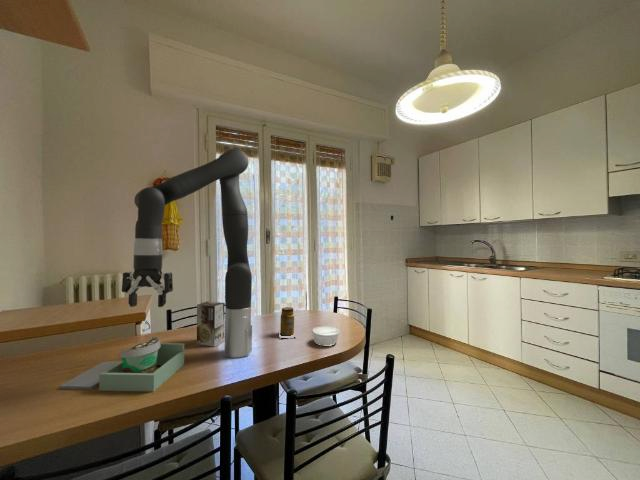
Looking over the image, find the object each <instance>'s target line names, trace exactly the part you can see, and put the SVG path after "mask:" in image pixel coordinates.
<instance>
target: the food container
mask: <svg viewBox="0 0 640 480" xmlns="http://www.w3.org/2000/svg"><path fill="white" fill-rule="evenodd" d="M140 343H141V344H139V343H137V344H136V345H134V346H133V347H131V348H129V349H121V351H120V354H119V358H121V361H122V366H123V373H154V372H155V371H156V370H157V365H156V364H157V355H158V349H159V348H160V347H161V344H160V343H161V341H160V339H159V338H158V337H156V336H151V339H150V340H148V341H146V342H140Z"/></svg>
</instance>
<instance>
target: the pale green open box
mask: <svg viewBox="0 0 640 480" xmlns="http://www.w3.org/2000/svg"><path fill="white" fill-rule="evenodd" d="M141 343H142V342H139V343H138V344H141ZM160 344H161V347H160V348H159V349H158V355H157V364H156V366H160V367H158V368H156V371H155V372H154V373H123V366H122V360H121V361H118V362H119V363H118V364H116V365H114V366H113V367H111V368H109V369H108V370H106V371H104V372H103V373H101V374H100V378H99V385H98V386H99V387H98V390H99V391H100V392H155V391H157V389H158V388H159V387H160V386H162V385H163V384H164V383H165V382H166V381H168V380H169V378H171V377H172V376H173V375H174V374H175V373H176V372H177V371H178V370H180V369H181V368H182V367H183V366H184V365H185V343H183V342H182V343H179V342H178V343H176V342H174V343H173V342H171V343H170V342H168V343H167V342H160Z"/></svg>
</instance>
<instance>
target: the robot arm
mask: <svg viewBox="0 0 640 480" xmlns="http://www.w3.org/2000/svg"><path fill="white" fill-rule="evenodd" d="M248 166H249V157H248V156H247V154H246V152H244V151H243V150H241V149H239V148H230V149H227V150H226V151H224V152H223V153H221V154H220V155H219V156H218V158H215V159H214V160H211V161H210V162H209V161H208V162H207V163H205V164H203V165H199V166H198V167H195V168H192V169H190V170H188V171H187V170H186V171H183V172H182V173H179V174H177V175H174V176H172V177H169V178H168V179H166V180H165V181H162V182H161V183H159V184H156V185H153V186H147V187H145V188H143V189H141V190H139V191H138V192H137V193H136V194H135V196H134V200H133V201H134V204H135V206H136V207H137V220H136V222H135V227H134V228H135V229H134V243H133V265H132V266H133V270H134V271H133V272H132V271H126V272H123V274H122V280H121V281H122V283H121V292H122V293H126V294H128V305H129V307H130V308H132V307H137V306H138V305H137V304H138V293H137V292H138V291H139V290H140V288H145V287H147V288H153V290H155V291H156V292H157V293H158V297H157V307H158V308H162V307H164V306H165V305H166V303H167V294H168V293H170V292H171V293H172V292H173V291H174V287H173V284H174V283H173V273H172V272H171V271H170V272H165V273H164V272H162V271H163V270H162V269H163V248H164V247H163V226H162V225H163V218H164V213H165V206H166V205H168V204H170V203H172V202H174V201H178V200H180V199H181V200H182V199H183V198H185V197H187V196H189V195H192V194H194V193H196V192H198V191H199V190H202V189H203V188H204V187H207V186H208V185H210V184H212V183H214V182H217V180H219V186H220V199H221V219H222V232H223V236H224V240H225V242H224V243H225V246H226V251H227V264H226V265H227V268H226V273H225V278H224V279H225V280H224V283H225V284H224V303H225V314H224V348H223V349H224V356H225V357H227V358H233V359H235V358H236V359H237V358H243V357H249V355H250V353H251V352H252V350H253V346H252V345H253V342H252V341H253V325H252V291H253V290H252V283H253V281H252V280H253V279H252V278H253V276H252V275H253V274H252V271H251V268H250V264H249V263H250V262H249V255H248V241H249V217H248V215H249V214H248V209H247V205H246V202H245V201H244V198H243V196H242V193H241V189H240V175H241V174H243V173H245V171H246V170H247V169H248ZM133 279H134V280H135V281H134V282H133V281H132V280H133ZM162 280H163V281H164V282H162ZM132 282H133V283H132Z"/></svg>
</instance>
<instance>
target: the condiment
mask: <svg viewBox="0 0 640 480" xmlns="http://www.w3.org/2000/svg"><path fill="white" fill-rule="evenodd" d="M294 312H295V311H294V307H287V306H285V307H283V308H281V314H280V326H279V328H280V332H279V333H280V335H281V336H291V335H293V334H295V314H294ZM278 339H279V340H282V339H281V338H279V337H278Z"/></svg>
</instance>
